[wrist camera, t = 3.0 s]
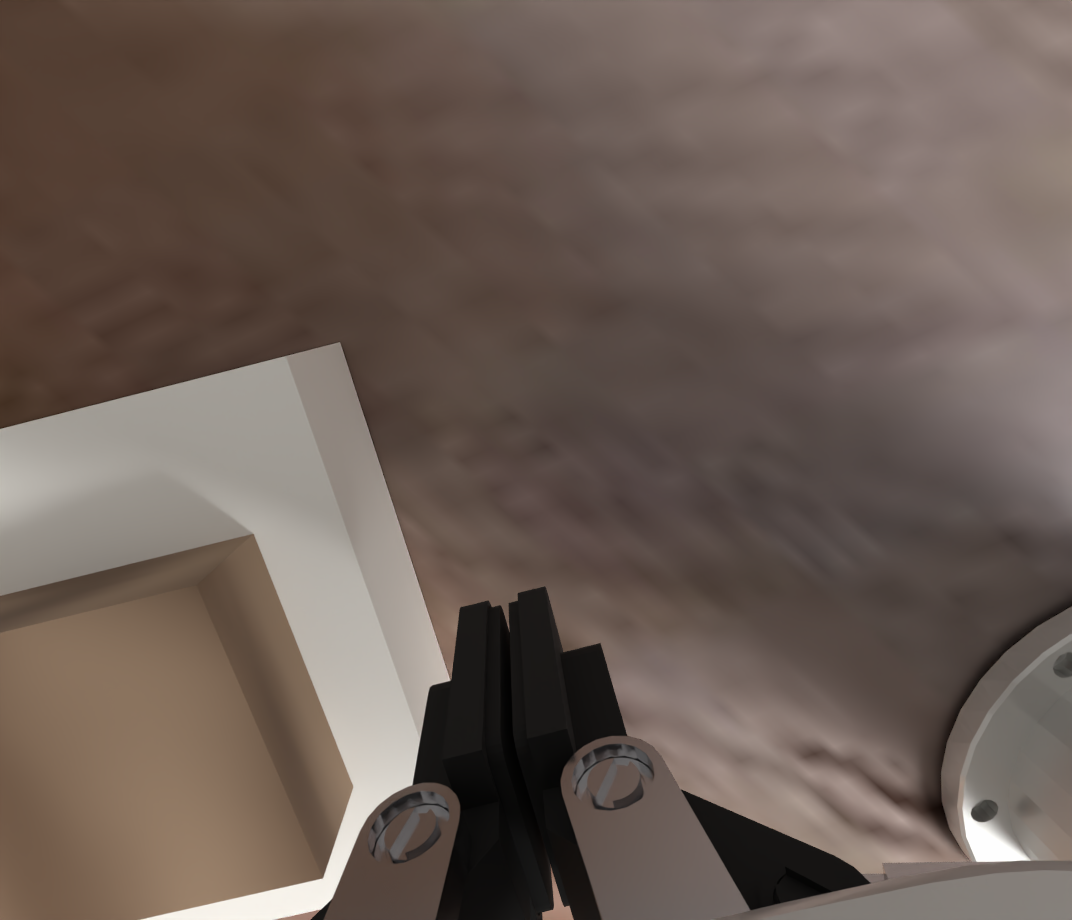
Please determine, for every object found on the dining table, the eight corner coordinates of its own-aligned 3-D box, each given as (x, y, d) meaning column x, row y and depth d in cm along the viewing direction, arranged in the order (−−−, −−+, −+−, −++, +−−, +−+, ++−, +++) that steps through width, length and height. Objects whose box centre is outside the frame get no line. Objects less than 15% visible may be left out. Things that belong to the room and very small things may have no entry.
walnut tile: (253, 533, 14) (196, 585, 11) (353, 786, 15) (323, 878, 13) (-169, 637, 14) (-313, 709, 11) (-23, 873, 16) (-121, 978, 13)
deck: (340, 342, 16) (286, 356, 13) (477, 764, 20) (468, 876, 16) (-282, 501, 17) (-517, 561, 13) (-40, 883, 21) (-168, 1018, 17)
